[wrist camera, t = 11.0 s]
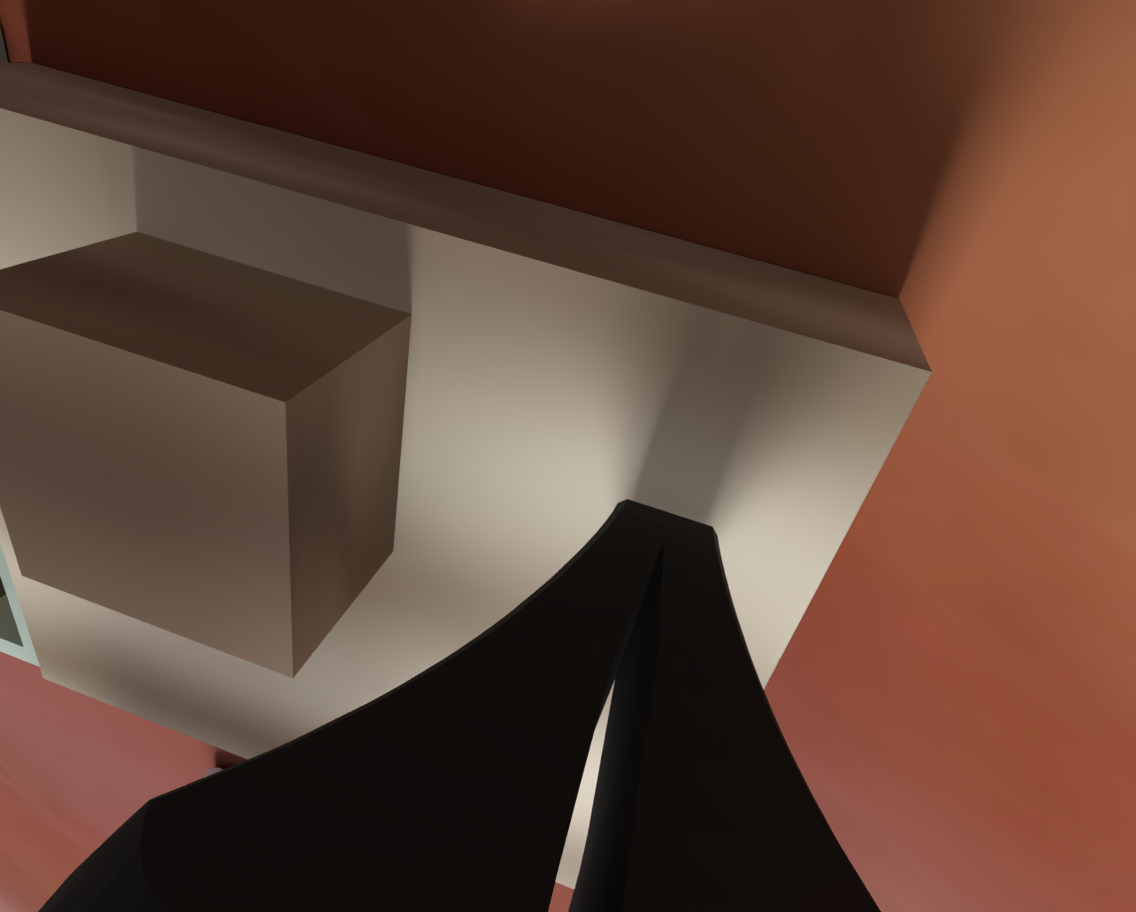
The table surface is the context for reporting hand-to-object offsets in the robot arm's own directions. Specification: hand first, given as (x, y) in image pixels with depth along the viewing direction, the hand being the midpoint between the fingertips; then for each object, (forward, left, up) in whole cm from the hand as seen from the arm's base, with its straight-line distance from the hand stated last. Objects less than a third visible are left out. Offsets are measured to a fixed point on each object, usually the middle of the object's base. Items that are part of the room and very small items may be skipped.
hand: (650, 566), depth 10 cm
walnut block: (0, +6, -1) cm, 7 cm away
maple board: (-3, +5, -4) cm, 8 cm away
